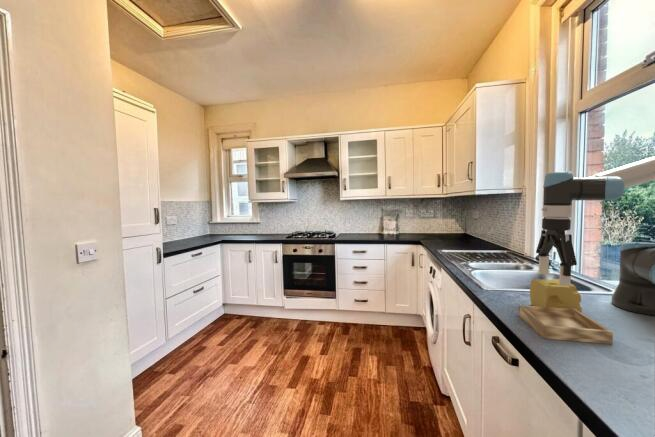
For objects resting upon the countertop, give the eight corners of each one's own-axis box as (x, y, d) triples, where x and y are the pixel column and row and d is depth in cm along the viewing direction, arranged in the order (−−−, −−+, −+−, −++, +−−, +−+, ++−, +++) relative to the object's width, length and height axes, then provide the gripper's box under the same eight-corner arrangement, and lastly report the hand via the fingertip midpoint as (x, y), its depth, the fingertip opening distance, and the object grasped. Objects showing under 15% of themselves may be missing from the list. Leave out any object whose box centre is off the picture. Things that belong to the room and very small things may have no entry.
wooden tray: (575, 318, 89) (575, 308, 89) (612, 344, 74) (612, 332, 74) (518, 314, 93) (518, 305, 93) (542, 338, 78) (542, 326, 78)
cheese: (582, 317, 90) (583, 287, 89) (544, 316, 92) (545, 286, 92) (562, 305, 100) (562, 278, 100) (528, 304, 102) (529, 277, 102)
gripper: (527, 215, 107) (524, 269, 109) (564, 220, 83) (560, 290, 85) (549, 215, 105) (547, 270, 107) (594, 221, 81) (590, 292, 83)
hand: (553, 279), depth 96 cm, fingers open, 13 cm apart
